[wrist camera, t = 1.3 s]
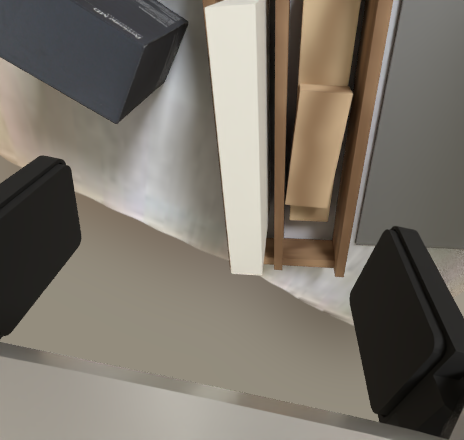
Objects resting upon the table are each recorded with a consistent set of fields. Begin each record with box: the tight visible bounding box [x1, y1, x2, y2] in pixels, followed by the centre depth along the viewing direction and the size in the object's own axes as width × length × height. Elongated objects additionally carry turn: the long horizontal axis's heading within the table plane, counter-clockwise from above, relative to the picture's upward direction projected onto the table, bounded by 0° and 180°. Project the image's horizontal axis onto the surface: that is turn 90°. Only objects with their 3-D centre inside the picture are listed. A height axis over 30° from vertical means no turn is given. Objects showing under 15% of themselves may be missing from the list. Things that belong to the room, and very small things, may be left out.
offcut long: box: [290, 0, 361, 222], centre depth 34 cm, size 4×24×3 cm, turn 3°
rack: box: [202, 0, 393, 277], centre depth 33 cm, size 14×36×6 cm, turn 4°
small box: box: [0, 0, 188, 124], centre depth 28 cm, size 13×7×12 cm, turn 60°
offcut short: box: [285, 84, 353, 208], centre depth 33 cm, size 4×12×2 cm, turn 179°
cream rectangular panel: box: [205, 0, 270, 275], centre depth 31 cm, size 3×22×13 cm, turn 4°
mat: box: [355, 0, 464, 249], centre depth 32 cm, size 14×34×1 cm, turn 4°
